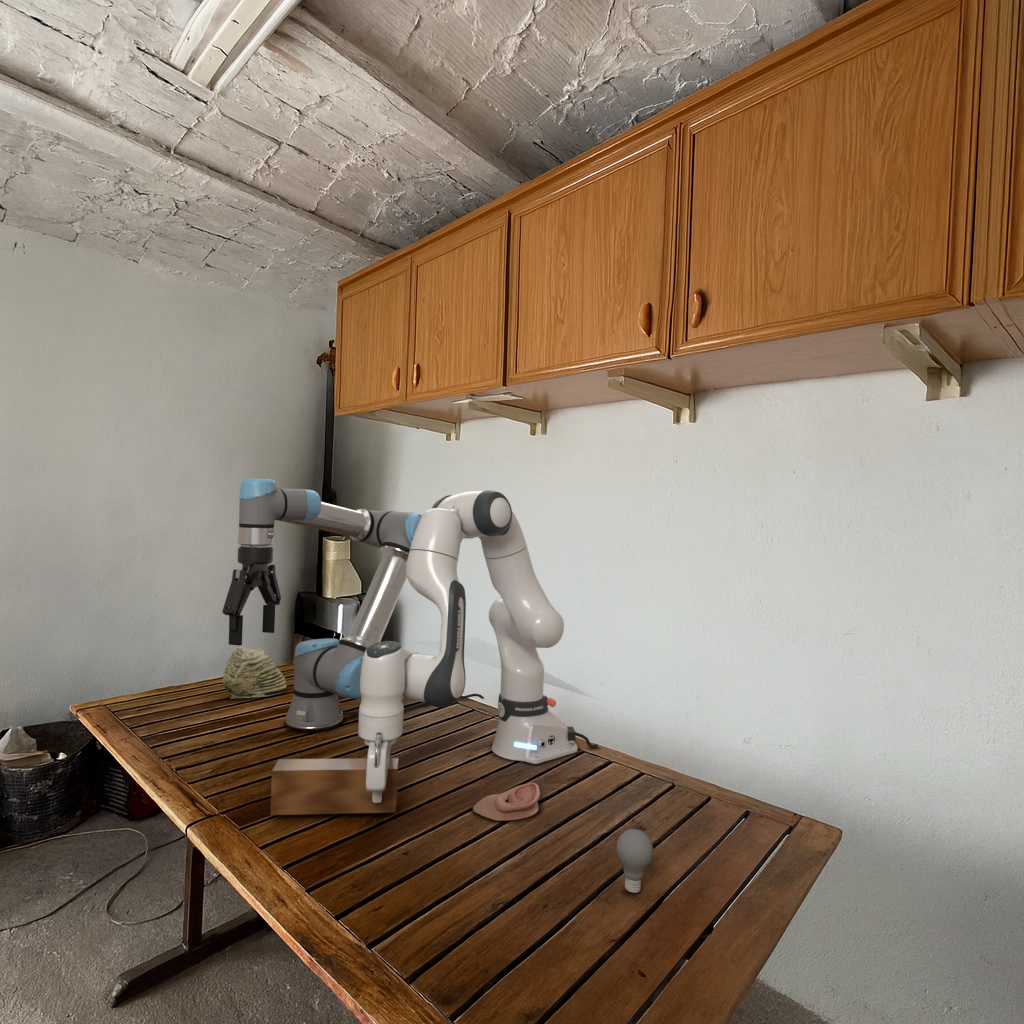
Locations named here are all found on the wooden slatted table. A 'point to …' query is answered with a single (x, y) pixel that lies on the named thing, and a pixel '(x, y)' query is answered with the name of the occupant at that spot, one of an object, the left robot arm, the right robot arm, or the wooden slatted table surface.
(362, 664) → the right robot arm
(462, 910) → the wooden slatted table surface
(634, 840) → the light bulb
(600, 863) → the wooden slatted table surface
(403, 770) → the wooden slatted table surface
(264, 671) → the fossil
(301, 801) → the bar
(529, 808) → the anatomical model
